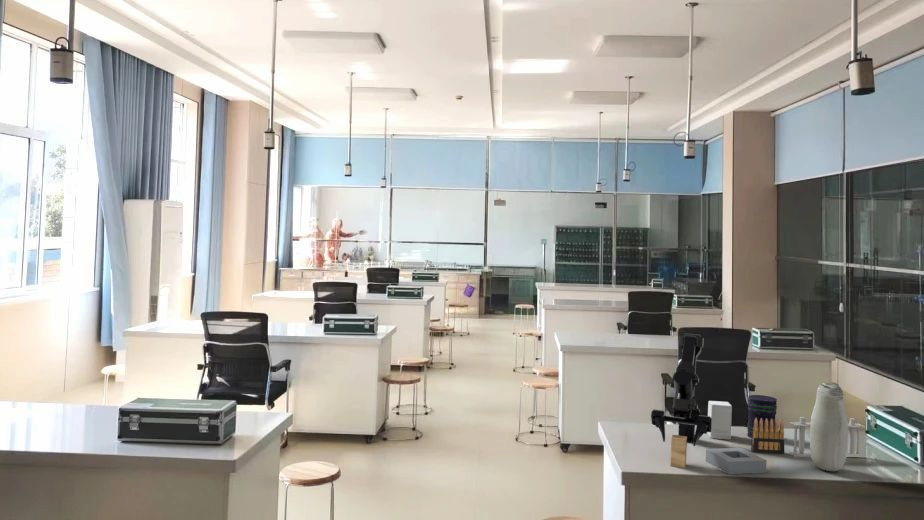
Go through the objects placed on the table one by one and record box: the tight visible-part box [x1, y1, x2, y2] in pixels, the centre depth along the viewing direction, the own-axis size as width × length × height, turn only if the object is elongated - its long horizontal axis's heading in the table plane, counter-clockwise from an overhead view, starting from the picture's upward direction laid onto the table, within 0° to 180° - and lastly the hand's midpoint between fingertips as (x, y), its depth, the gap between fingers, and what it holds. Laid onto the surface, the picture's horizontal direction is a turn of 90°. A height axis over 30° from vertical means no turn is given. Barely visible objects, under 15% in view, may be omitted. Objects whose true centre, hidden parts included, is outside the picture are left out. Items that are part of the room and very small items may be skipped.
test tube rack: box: [786, 416, 867, 458], centre depth 229 cm, size 25×4×13 cm, turn 93°
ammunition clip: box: [750, 418, 785, 455], centre depth 230 cm, size 11×2×12 cm, turn 87°
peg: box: [670, 434, 688, 469], centre depth 213 cm, size 4×4×9 cm
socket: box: [705, 447, 767, 475], centre depth 213 cm, size 13×13×4 cm
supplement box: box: [706, 400, 733, 441], centre depth 249 cm, size 7×7×13 cm
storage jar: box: [746, 394, 778, 439], centre depth 249 cm, size 10×10×15 cm
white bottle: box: [809, 382, 849, 472], centre depth 213 cm, size 10×10×28 cm
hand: (678, 443), depth 212 cm, fingers open, 9 cm apart
